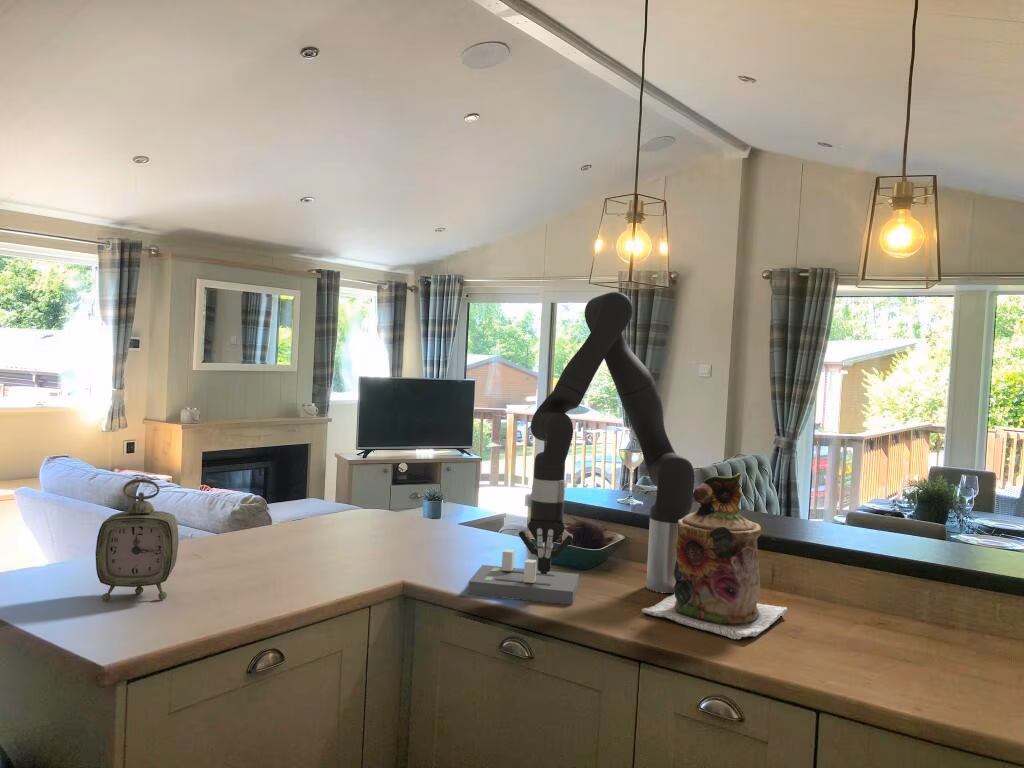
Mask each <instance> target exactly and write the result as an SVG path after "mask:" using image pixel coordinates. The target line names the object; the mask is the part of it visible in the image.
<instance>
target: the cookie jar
mask: <svg viewBox="0 0 1024 768" xmlns="http://www.w3.org/2000/svg"><path fill="white" fill-rule="evenodd" d="M741 476H742V473H736V474H734V475H733V476H724V475H713V476H710V477H707V478H705V480H704V481H703V483H701V484H699V486H696V487H695V488H694V491H693V500H694V501H695V502H697V503H698V504H699V505H700V506H699V508H698V509H697V510H696V511H694V512H690V513H689V514H688V515H686V516H685V517H684V518H682V519H679V520H678V540H677V543H676V550H677V553H676V555H677V560H676V564H675V569H674V577H675V580H676V583H675V586H674V592H675V594H670V595H669V596H667V597H665V598H664V599H662V600H661V601H660V602H657V603H656V604H655V605H652V606H650V607H644V608H643V607H642V609H641V613H643V614H644V613H645V614H648V615H650V616H654V617H660V618H667V619H669V620H671V621H675V622H676V623H678V624H681V625H685V626H688V627H692V628H695V629H699V630H703V631H705V632H710V633H713V634H717V635H720V636H724V637H728V638H730V639H732V640H740V639H742V638H747V637H757V636H758V635H760V634H761V633H762V632H763V631H765V630H767V629H768V628H769V627H771V625H773V624H774V623H776V621H778V619H779V618H781V617H780V616H782V615H783V616H784V614H785V613H786V612H787V611H788V608H787V606H779V605H778V606H776V605H772V604H763V603H758V600H759V599H760V594H761V593H760V592H761V581H760V580H761V577H760V563H759V555H758V538H759V537H760V536H761V533H762V528H761V525H760V524H759V523H757V522H753V521H751V520H748V519H747V518H745V517H744V516H742V515H741V513H740V512H739V510H738V507H739V504H740V501H741V498H742V497H743V493H741V491H740V488H741V484H740V479H741Z"/></svg>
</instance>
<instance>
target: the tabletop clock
mask: <svg viewBox="0 0 1024 768" xmlns="http://www.w3.org/2000/svg"><path fill="white" fill-rule="evenodd" d="M137 483H138V484H139V483H140V484H141V483H145V484H150V485H153V486H154V488H156V492H155V493H153V494H151V495H145V493H144V492H142V491H141V492H139V493H138V495H132V494H129V493H128V492H127V491H126V489H127V487H129V486H130V485H132V484H137ZM122 492H123V495H125V496H126V497H127V498H129V499H133V500H135V501H133V502H131V503H130V505H129V506H128V507H127V509H126V511H121V512H117V513H114V514H112V515H110V516H109V517H108V518H106V519H105V520H104V521H103V522H102V523H101V525H100V527H99V529H98V534H97V539H96V546H95V568H96V574H97V575H96V576H97V579H98V580H99V582H100V584H103V585H106V586H110V587H109V588H108V591H107V592H106V593H103V594H102V595H101V600H102V601H103V602H108V601H110V600H111V597H112V596H111V593H112V592H113V590H114V588H115V587H123V588H124V587H127V588H135V587H136V588H135V589H134V593H135V594H137V595H141V594H143V592H144V587H149V586H155V585H156V588H157V590H158V592H159V593H158V594H157V596H158V599H159V600H160V601H161V600H165V599H166V598H167V595H168V594H167V592H166V591H163V588H162V584H163V583H165V582H166V581H167V580H168V578H169V576H170V575H171V574H172V572H173V569H174V567H175V566H176V562H177V558H178V551H179V550H178V549H179V543H180V542H179V527H178V521H177V519H176V516H175V515H174V514H172V513H170V512H166V511H160V510H159V511H158V510H155V508H154V505H153V504H152V503H151V502H150V501H147V500H149V499H153V498H155V497H156V496H158V495H159V493H160V487H159V485H158V484H157V483H156V482H155V481H153V480H151V479H145V478H143V479H138V478H137V479H132V480H130V481H128V482H126V484H125V485H124V486H123V488H122Z"/></svg>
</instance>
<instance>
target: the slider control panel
mask: <svg viewBox="0 0 1024 768" xmlns="http://www.w3.org/2000/svg"><path fill="white" fill-rule="evenodd" d="M579 576H580V575H579V573H571V572H562V571H561V572H560V571H551V570H550V571H549V572H548V573H547V574H540V571H538V569H536V580H535V582H534V583H529V582H524V568H518V567H514V568H513V570H512V571H504V570H502V566H497V565H489V564H481V566H480V567H479V568H478V570H477V571H475V573H474V574H473V576H472V577H471V578H470V579H469V580H468V588H467V594H468V595H471V596H472V595H473V596H474V595H475V596H481V595H482V596H483V597H491V596H494V597H493V598H500V597H504V598H503V599H510V598H513V599H512V600H519V599H522V601H529V600H532V601H531V602H539V601H542V603H548V602H549V604H550V603H551V604H558V603H561V604H560V605H568V604H570V605H569V606H573V604H574V601H575V597H576V594H577V591H578V588H579Z"/></svg>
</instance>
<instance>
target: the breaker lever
mask: <svg viewBox="0 0 1024 768" xmlns="http://www.w3.org/2000/svg"><path fill="white" fill-rule="evenodd" d="M501 556H502V559H501V567H502V570H504V571H512V570H513V568H515V566H514V565H515V549H513V548H511V549H510V548H504V549H503V551H502V555H501Z"/></svg>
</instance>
